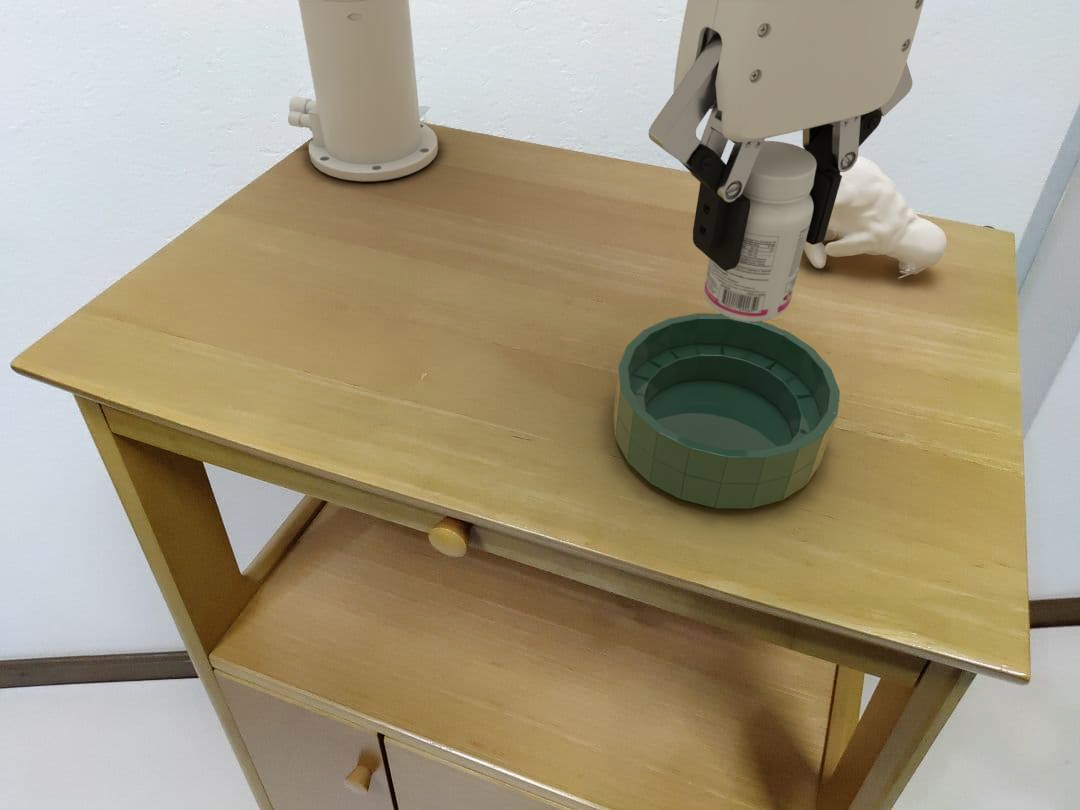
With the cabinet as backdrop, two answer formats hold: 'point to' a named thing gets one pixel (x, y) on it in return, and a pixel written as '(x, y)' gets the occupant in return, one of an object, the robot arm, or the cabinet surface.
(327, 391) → the cabinet surface
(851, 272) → the cabinet surface
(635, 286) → the cabinet surface
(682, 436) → the bowl
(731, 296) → the pill bottle
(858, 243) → the white irregular piece
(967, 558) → the cabinet surface
